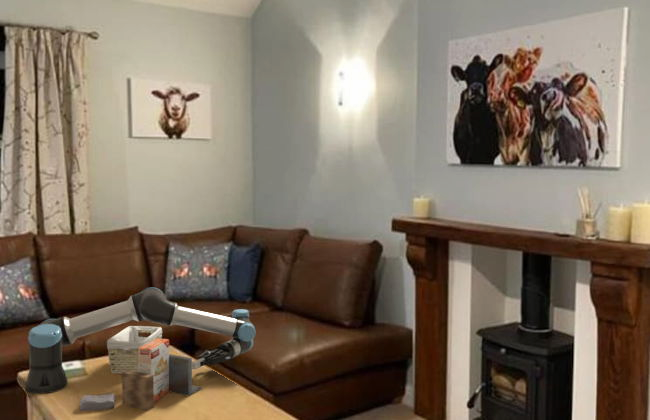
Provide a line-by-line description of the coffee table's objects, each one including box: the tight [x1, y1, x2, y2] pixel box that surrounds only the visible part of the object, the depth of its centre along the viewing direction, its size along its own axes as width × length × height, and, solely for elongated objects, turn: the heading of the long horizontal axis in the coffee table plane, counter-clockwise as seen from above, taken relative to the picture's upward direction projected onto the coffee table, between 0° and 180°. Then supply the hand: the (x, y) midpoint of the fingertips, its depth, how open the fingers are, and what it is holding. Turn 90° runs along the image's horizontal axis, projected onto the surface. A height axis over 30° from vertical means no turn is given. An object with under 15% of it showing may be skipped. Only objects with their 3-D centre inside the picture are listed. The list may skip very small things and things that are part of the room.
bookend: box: [168, 353, 203, 397], centre depth 248 cm, size 14×8×14 cm, turn 64°
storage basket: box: [106, 325, 163, 375], centre depth 274 cm, size 24×16×15 cm
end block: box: [121, 370, 155, 411], centre depth 231 cm, size 12×3×12 cm, turn 64°
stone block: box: [79, 393, 116, 412], centre depth 232 cm, size 12×5×10 cm
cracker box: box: [138, 338, 170, 403], centre depth 239 cm, size 14×6×21 cm, turn 166°
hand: (193, 366), depth 255 cm, fingers closed
